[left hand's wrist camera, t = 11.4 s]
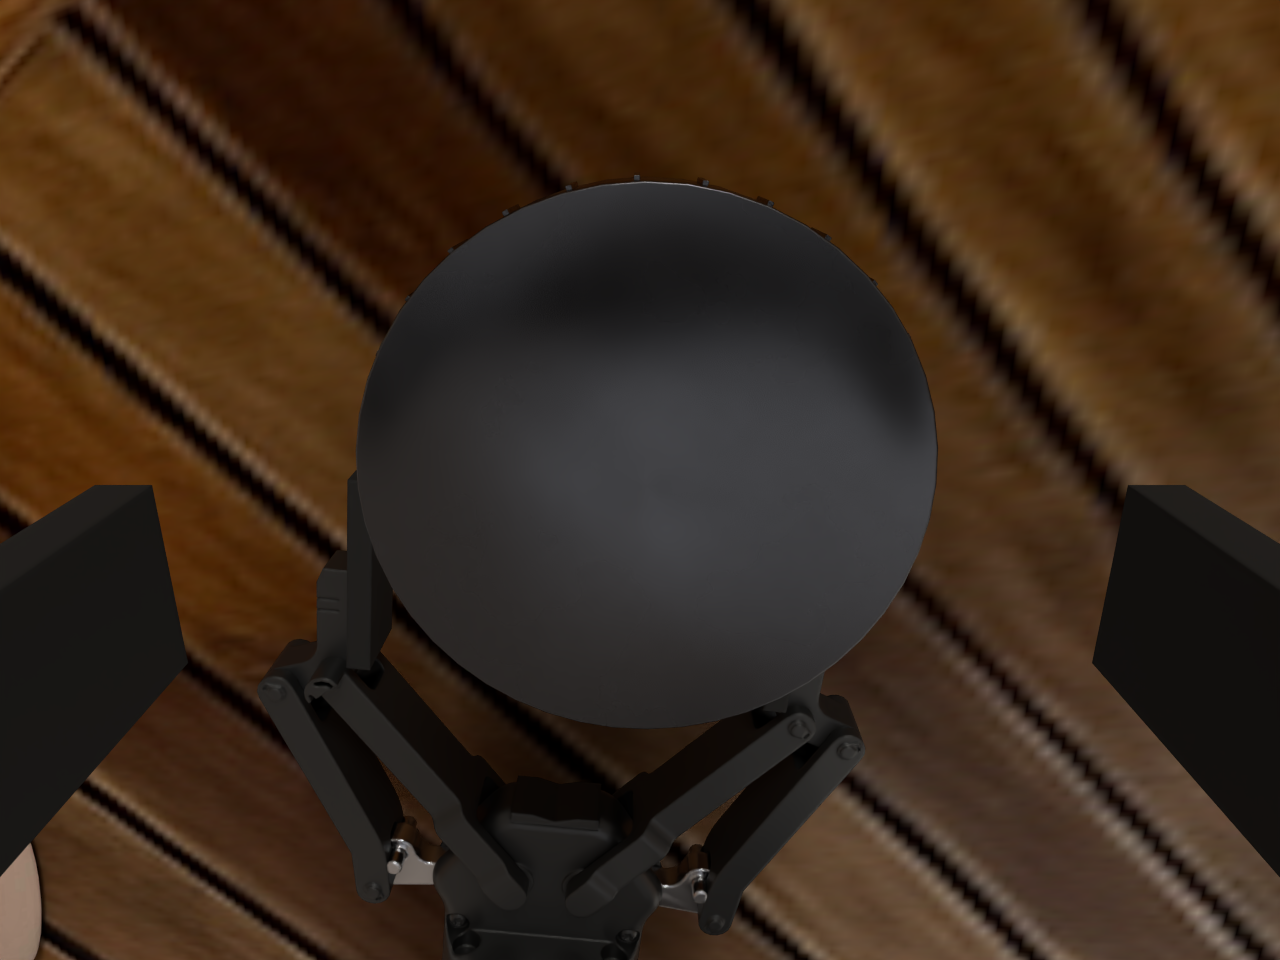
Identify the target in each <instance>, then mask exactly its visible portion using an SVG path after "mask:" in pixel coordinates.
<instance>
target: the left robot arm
mask: <svg viewBox="0 0 1280 960" xmlns="http://www.w3.org/2000/svg"><path fill="white" fill-rule="evenodd" d="M187 663H188V661H187V656H186V651H185V646H184V642H183V637H182V632H181V627H180V622H179V617H178V612H177V607H176V602H175V597H174V592H173V587H172V582H171V577H170V572H169V567H168V562H167V557H166V552H165V547H164V543H163V538H162V533H161V528H160V523H159V518H158V513H157V508H156V503H155V498H154V493H153V488H152V485H94V486H93V487H91V488H90V489H88V490H86V491H85V492H83V493H82V494H80V495H78V496H77V497H75V498H74V499H72V500H70V501H69V502H67V503H65V504H64V505H62V506H61V507H59V508H57V509H56V510H54V511H53V512H51V513H49V514H48V515H46V516H45V517H43V518H41V519H40V520H38V521H36V522H35V523H33V524H32V525H30V526H28V527H27V528H25V529H24V530H22V531H20V532H19V533H17V534H16V535H14V536H12V537H11V538H9V539H8V540H6V541H4V542H3V543H1V544H0V877H1V876H2V875H3V873H4V872H5V871H6V870H7V869H8V868H9V867H10V865H11V864H12V863H13V862H14V861H15V860H16V859H17V857H18V856H19V855H20V854H21V853H22V852H23V851H24V849H25V848H26V847H27V846H28V845H29V844H30V843H31V841H32V840H33V839H34V838H35V837H36V836H37V835H38V833H39V832H40V831H41V830H42V829H43V828H44V827H45V825H46V824H47V823H48V822H49V821H50V820H51V819H52V817H53V816H54V815H55V814H56V813H57V812H58V811H59V809H60V808H61V807H62V806H63V805H64V804H65V803H66V801H67V800H68V799H69V798H70V797H71V796H72V795H73V793H74V792H75V791H76V790H77V789H78V788H79V787H80V785H81V784H82V783H83V782H84V781H85V780H86V779H87V777H88V776H89V775H90V774H91V773H92V772H93V771H94V769H95V768H96V767H97V766H98V765H99V764H100V763H101V761H102V760H103V759H104V758H105V757H106V756H107V755H108V753H109V752H110V751H111V750H112V749H113V748H114V747H115V745H116V744H117V743H118V742H119V741H120V740H121V739H122V737H123V736H124V735H125V734H126V733H127V732H128V731H129V730H130V728H131V727H132V726H133V725H134V724H135V723H136V722H137V720H138V719H139V718H140V717H141V716H142V715H143V714H144V712H145V711H146V710H147V709H148V708H149V707H150V706H151V704H152V703H153V702H154V701H155V700H156V699H157V698H158V696H159V695H160V694H161V693H162V692H163V691H164V690H165V688H166V687H167V686H168V685H169V684H170V683H171V682H172V680H173V679H174V678H175V677H176V676H177V675H178V674H179V672H180V671H181V670H182V669H183V668H184V667H185V666H186V664H187ZM1092 663H1093V664H1094V666H1095V667H1096V668H1097V669H1098V670H1099V671H1100V672H1101V674H1102V675H1103V676H1104V677H1105V678H1106V679H1107V680H1108V682H1109V683H1110V684H1111V685H1112V686H1113V687H1114V688H1115V690H1116V691H1117V692H1118V693H1119V694H1120V695H1121V696H1122V698H1123V699H1124V700H1125V701H1126V702H1127V703H1128V704H1129V706H1130V707H1131V708H1132V709H1133V710H1134V711H1135V712H1136V714H1137V715H1138V716H1139V717H1140V718H1141V719H1142V720H1143V722H1144V723H1145V724H1146V725H1147V726H1148V727H1149V728H1150V730H1151V731H1152V732H1153V733H1154V734H1155V735H1156V736H1157V737H1158V739H1159V740H1160V741H1161V742H1162V743H1163V744H1164V745H1165V747H1166V748H1167V749H1168V750H1169V751H1170V752H1171V753H1172V755H1173V756H1174V757H1175V758H1176V759H1177V760H1178V761H1179V763H1180V764H1181V765H1182V766H1183V767H1184V768H1185V769H1186V771H1187V772H1188V773H1189V774H1190V775H1191V776H1192V777H1193V779H1194V780H1195V781H1196V782H1197V783H1198V784H1199V785H1200V787H1201V788H1202V789H1203V790H1204V791H1205V792H1206V793H1207V795H1208V796H1209V797H1210V798H1211V799H1212V800H1213V801H1214V803H1215V804H1216V805H1217V806H1218V807H1219V808H1220V809H1221V811H1222V812H1223V813H1224V814H1225V815H1226V816H1227V817H1228V819H1229V820H1230V821H1231V822H1232V823H1233V824H1234V825H1235V827H1236V828H1237V829H1238V830H1239V831H1240V832H1241V833H1242V835H1243V836H1244V837H1245V838H1246V839H1247V840H1248V841H1249V843H1250V844H1251V845H1252V846H1253V847H1254V848H1255V849H1256V851H1257V852H1258V853H1259V854H1260V855H1261V856H1262V857H1263V859H1264V860H1265V861H1266V862H1267V863H1268V864H1269V865H1270V867H1271V868H1272V869H1273V870H1274V871H1275V872H1276V873H1277V875H1278V876H1279V877H1280V544H1279V543H1277V542H1276V541H1274V540H1272V539H1271V538H1269V537H1268V536H1266V535H1264V534H1263V533H1261V532H1260V531H1258V530H1256V529H1255V528H1253V527H1252V526H1250V525H1248V524H1247V523H1245V522H1244V521H1242V520H1240V519H1239V518H1237V517H1235V516H1234V515H1232V514H1231V513H1229V512H1227V511H1226V510H1224V509H1223V508H1221V507H1219V506H1218V505H1216V504H1215V503H1213V502H1211V501H1210V500H1208V499H1206V498H1205V497H1203V496H1202V495H1200V494H1198V493H1197V492H1195V491H1194V490H1192V489H1190V488H1189V487H1187V486H1186V485H1128V488H1127V493H1126V498H1125V503H1124V508H1123V513H1122V518H1121V523H1120V528H1119V533H1118V538H1117V543H1116V547H1115V552H1114V557H1113V562H1112V567H1111V572H1110V577H1109V582H1108V587H1107V592H1106V597H1105V602H1104V607H1103V612H1102V617H1101V622H1100V627H1099V632H1098V637H1097V642H1096V646H1095V651H1094V656H1093V661H1092Z"/></svg>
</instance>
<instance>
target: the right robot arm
mask: <svg viewBox="0 0 1280 960" xmlns="http://www.w3.org/2000/svg"><path fill="white" fill-rule="evenodd" d="M392 593H393V588H392V587H391V585H390V583H389V581H388V579H387V577H386V575H385V573H384V571H383V569H382V567H381V565H380V563H379V561H378V559H377V557H376V554H375V551H374V548H373V545H372V542H371V539H370V536H369V533H368V531H367V528H366V525H365V522H364V517H363V511H362V506H361V501H360V496H359V491H358V482H357V470H356V471H355V472H354V473H353V475H352V476H351V477H350V478H349V479H348V492H347V551H341V550H337V551H336V552H335V553H334V555H333V556H332V557H331V559H330V560H329V561H328V563H327V564H326V565H325V567H324V568H323V570H322V572H321V574H320V576H319V578H318V580H317V641H316V642H311V643H310V642H309V641H307V640H303V639H297V640H293V641H291V642H289V643H288V644H287V646H286V647H285V649H284V650H283V651H282V652H281V654H280V655H279V657H278V658H277V659H276V661H275V662H274V664H273V665H272V667H271V668H270V669H269V671H268V672H267V674H266V675H265V677H264V678H263V679H262V681H261V682H260V684H259V685H258V691H257V692H258V695H259V698H260V700H261V701H262V703H263V705H264V706H265V708H266V710H267V711H268V713H269V715H270V717H271V718H272V720H273V722H274V723H275V725H276V727H277V728H278V730H279V732H280V733H281V735H282V737H283V738H284V740H285V742H286V744H287V745H288V747H289V749H290V750H291V752H292V754H293V755H294V757H295V759H296V760H297V762H298V764H299V765H300V767H301V769H302V771H303V772H304V774H305V776H306V777H307V779H308V781H309V782H310V784H311V786H312V787H313V789H314V791H315V792H316V794H317V796H318V798H319V799H320V801H321V803H322V804H323V806H324V808H325V809H326V811H327V813H328V814H329V816H330V818H331V819H332V821H333V823H334V825H335V826H336V828H337V830H338V831H339V833H340V835H341V836H342V838H343V840H344V841H345V843H346V845H347V846H348V848H349V850H350V852H351V853H352V859H353V867H354V874H355V882H356V889H357V893H358V895H359V896H360V897H361V898H362V899H363V900H365V901H367V902H370V903H380V902H383V901H385V900H386V899H387V898H388V897H389V895H390V892H391V889H392V886H393V884H434V886H435V889H436V891H437V892H438V894H439V895H440V897H441V899H442V901H443V903H444V907H445V921H444V939H443V957H442V960H638V955H639V949H640V942H641V936H642V930H643V926H644V924H645V922H646V920H647V919H648V917H649V916H650V915H651V914H652V913H653V912H654V911H655V910H656V909H657V907H658V906H661V907H666V908H672V909H677V910H683V911H688V912H694V913H698V922H699V926H700V929H701V930H702V931H703V932H705V933H707V934H709V935H720V934H723V933H725V932H726V931H728V929H729V928H730V926H731V924H732V921H733V918H734V915H735V913H736V910H737V907H738V904H739V901H740V899H741V896H742V893H743V891H744V890H745V888H746V887H747V886H748V885H749V884H750V883H751V882H752V881H753V880H754V878H755V877H756V876H757V875H758V874H759V873H760V872H761V871H762V870H763V868H764V867H765V866H766V865H767V864H768V863H769V862H770V861H771V859H772V858H773V857H774V856H775V855H776V854H777V853H778V852H779V851H780V849H781V848H782V847H783V846H784V845H785V844H786V843H787V842H788V840H789V839H790V838H791V837H792V836H793V835H794V834H795V833H796V832H797V830H798V829H799V828H800V827H801V826H802V825H803V824H804V823H805V821H806V820H807V819H808V818H809V817H810V816H811V815H812V814H813V813H814V811H815V810H816V809H817V808H818V807H819V806H820V805H821V804H822V802H823V801H824V800H825V799H826V798H827V797H828V796H829V795H830V794H831V792H832V791H833V790H834V789H835V788H836V787H837V786H838V785H839V783H840V782H841V781H842V780H843V779H844V778H845V777H846V776H847V775H848V773H849V772H850V771H851V770H852V769H853V768H854V767H855V766H856V765H857V763H858V762H859V761H860V760H861V759H862V757H863V756H864V754H865V746H864V743H863V741H862V738H861V735H860V732H859V730H858V727H857V724H856V722H855V719H854V716H853V714H852V711H851V708H850V706H849V703H848V701H847V700H846V699H845V698H844V697H842V696H839V695H830V696H825V695H823V694H821V693H820V690H821V685H822V681H823V676H824V672H825V671H824V672H823V673H821V674H820V675H818V676H817V677H816V678H814V679H813V680H811V681H810V682H808V683H807V684H805V685H803V686H801V687H799V688H798V689H796V690H794V691H792V692H790V693H789V694H787V695H785V696H783V697H782V698H780V699H777V700H775V701H773V702H770V703H768V704H765V705H763V706H761V707H758V708H756V709H753V710H751V711H749V712H745V713H742V714H738V715H735V716H732V717H728V718H725V719H722V720H720V721H719V722H718V723H717V724H715V725H714V726H713V727H711V728H710V729H709V730H707V731H706V732H705V733H703V734H702V735H701V736H700V737H698V738H697V739H696V740H694V741H693V742H692V743H690V744H689V745H688V746H686V747H685V748H684V749H682V750H681V751H680V752H679V753H677V754H676V755H675V756H673V757H672V758H671V759H669V760H668V761H667V762H665V763H664V764H663V765H662V766H660V767H659V768H658V769H656V770H655V771H654V772H652V773H650V774H648V773H646V772H642V773H640V774H638V775H637V776H636V777H634V778H633V779H632V780H631V781H629V782H628V783H627V784H625V785H624V786H623V787H621V788H620V789H619V790H617V791H616V792H615V793H614V794H612V795H611V794H609V793H607V792H605V791H602V790H601V784H599V783H589V782H574V783H566V784H557V783H554V782H551V781H548V780H545V779H542V778H538V777H528V776H518V779H517V782H513V783H509V784H505V783H504V781H503V780H502V779H501V778H500V777H499V776H498V775H497V773H496V772H495V771H494V770H493V769H492V768H491V767H490V765H489V764H488V763H487V762H486V761H485V760H484V759H483V758H482V757H481V756H479V755H477V756H472V755H470V754H469V752H468V751H467V750H466V749H465V748H464V747H463V746H462V744H461V743H460V742H459V741H458V740H457V739H456V738H455V736H454V735H453V734H452V733H451V732H450V731H449V730H448V728H447V727H446V726H445V725H444V724H443V723H442V722H441V720H440V719H439V718H438V717H437V716H436V715H435V714H434V712H433V711H432V710H431V709H430V708H429V707H428V706H427V704H426V703H425V702H424V701H423V700H422V699H421V698H420V696H419V695H418V694H417V693H416V692H415V691H414V689H413V688H412V687H411V686H410V685H409V684H408V683H407V681H406V680H405V679H404V678H403V677H402V676H401V675H400V673H399V672H398V671H397V670H396V669H395V668H394V667H393V665H392V664H391V663H390V662H389V661H388V660H387V659H386V657H385V656H384V655H383V654H382V653H381V652H380V650H381V648H382V646H383V644H384V642H385V640H386V638H387V636H388V634H389V632H390V630H391V629H392ZM375 754H376V755H375ZM377 757H378V758H379V759H380V760H381V761H382V762H383V763H384V764H385V765H386V766H387V768H388V769H389V770H390V771H391V772H392V773H393V774H394V775H395V776H396V777H397V778H398V780H399V781H400V782H401V783H402V784H403V785H404V786H405V787H406V788H407V789H408V790H409V791H410V793H411V794H412V795H413V796H414V797H415V798H416V799H417V800H418V801H419V802H420V803H421V805H422V806H423V807H424V808H425V809H426V810H427V811H428V812H429V813H430V815H431V816H432V818H433V822H434V828H435V831H436V833H437V835H438V836H439V838H440V839H441V840H442V843H441V845H440V846H437V845H432V844H429V843H427V842H426V841H425V840H424V839H423V838H422V837H421V834H420V832H419V830H418V829H417V828H416V825H417V821H416V819H415V818H413V817H412V816H405V817H403V811H402V806H401V803H400V800H399V797H398V795H397V793H396V791H395V789H394V787H393V785H392V783H391V782H390V780H389V778H388V776H387V774H386V773H385V771H384V769H383V767H382V765H381V764H380V762H379V760H378V758H377ZM746 786H747V787H746ZM745 787H746V788H745ZM744 788H745V789H744ZM742 789H744V791H743V792H742V793H741V794H740V795H739V796H738V798H737V799H736V800H735V801H734V802H733V804H732V805H731V806H730V807H729V808H728V809H727V811H726V812H725V813H724V814H723V815H722V816H721V818H720V819H719V820H718V821H717V823H716V824H715V825H714V827H713V828H712V829H711V831H710V833H709V835H708V836H707V838H706V841H705V843H704V846H702V845H699V844H695V845H692V846H691V847H690V849H689V854H688V855H687V856H685V858H684V859H683V861H682V862H681V863H680V864H679V865H677V866H675V867H672V868H662V866H661V862H660V860H662V859H663V858H664V857H665V856H666V854H667V853H668V852H669V850H670V847H671V845H672V843H673V841H674V840H675V839H676V838H677V837H678V836H680V835H681V834H682V833H684V832H685V831H686V830H688V829H689V828H691V827H692V826H693V825H695V824H696V823H697V822H699V821H700V820H701V819H703V818H704V817H706V816H707V815H708V814H710V813H711V812H712V811H714V810H715V809H716V808H718V807H719V806H721V805H722V804H723V803H725V802H726V801H727V800H729V799H730V798H731V797H733V796H734V795H736V794H737V793H738V792H740V791H741V790H742Z"/></svg>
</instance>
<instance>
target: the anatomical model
mask: <svg viewBox="0 0 1280 960" xmlns="http://www.w3.org/2000/svg"><path fill="white" fill-rule="evenodd" d="M40 936H41V896H40V886H39V877H38V871H37V865H36V860H35V857H34V853H33V849H32V846H31V843H30V844H29V845H28V846H27V847H26V848H25V849H24V851H23V852H22V853H21V854H20V855H19V856H18V857H17V859H16V860H15V861H14V862H13V863H12V864H11V865H10V867H9V868H8V869H7V870H6V871H5V872H4V873H3V875H2V876H1V877H0V960H34V958H35V956H36V954H37V951H38V948H39V942H40Z"/></svg>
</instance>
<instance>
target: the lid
mask: <svg viewBox="0 0 1280 960" xmlns="http://www.w3.org/2000/svg"><path fill="white" fill-rule="evenodd" d="M565 187H566V189H565V190H563V191H560V192H557V193H555V194H552V195H549V196H546V197H544V198H541V199H538V200H536V201H534V202H532V203H530V204H528V205H526V206H524V207H522V208H520V206H519V205H518V204H517V205H515V206H513V207H511V208H509V209H507V210H505V211H503V212H502V213H503V215H504V217H503V218H501V219H499V220H498V221H496V222H494V223H492V224H490V225H488V226H486V227H485V228H483V229H482V230H481V231H479V232H478V233H477V234H475V235H474V236H473V237H471V238H470V239H466V240H465V241H463V242H461V243H459V244H457V245H455V246H453V247H451V248H450V249H449V250H448V252H449V253H450V254H449V255H448V256H447V257H446V258H445V259H444V260H443V261H442V262H441V263H440V264H439V265H438V266H437V267H436V268H435V269H434V270H433V271H432V272H431V273H430V274H429V275H428V276H427V277H425V278H424V280H423V281H422V282H421V284H420V285H419V286H418V287H417V289H416V290H415V291H414V292H413V293H411V294H410V295H408V296H407V297H406V299H405V301H407V302H406V303H405V304H404V306H403V307H402V308H401V309H400V311H399V313H398V315H397V316H396V318H395V320H394V322H393V323H392V325H391V327H390V329H389V330H388V332H387V334H386V336H385V338H384V339H383V341H382V343H381V345H380V348H379V350H378V351H377V353H376V358H375V361H374V363H373V366H372V368H371V371H370V373H369V376H368V379H367V383H366V387H365V391H364V396H363V400H362V404H361V408H360V413H359V421H358V432H357V444H356V463H357V482H358V491H359V496H360V501H361V506H362V511H363V517H364V522H365V525H366V528H367V531H368V533H369V536H370V539H371V542H372V545H373V548H374V551H375V554H376V557H377V559H378V561H379V563H380V565H381V567H382V569H383V571H384V573H385V575H386V577H387V579H388V581H389V583H390V585H391V587H392V588H393V590H394V591H395V593H396V594H397V596H398V597H399V599H400V600H401V602H402V603H403V605H404V606H405V608H406V609H407V611H408V612H409V614H410V615H411V616H412V618H413V619H414V620H415V621H416V622H417V623H418V625H419V626H420V627H421V628H422V629H423V630H424V631H425V633H426V634H427V635H428V636H429V637H430V638H431V640H432V641H433V642H434V643H435V644H437V645H438V646H439V647H440V648H441V649H442V650H443V651H444V652H445V653H447V654H448V655H449V656H450V657H451V658H452V659H453V660H454V661H455V662H456V663H458V664H459V665H460V666H462V667H463V668H465V669H466V670H467V671H469V672H470V673H472V674H473V675H474V676H476V677H477V678H479V679H480V680H481V681H483V682H484V683H486V684H487V685H489V686H491V687H493V688H495V689H497V690H498V691H500V692H502V693H504V694H506V695H508V696H509V697H511V698H513V699H515V700H517V701H520V702H522V703H525V704H527V705H530V706H532V707H534V708H537V709H539V710H542V711H544V712H547V713H550V714H554V715H557V716H561V717H564V718H568V719H572V720H575V721H579V722H584V723H590V724H596V725H603V726H609V727H617V728H637V729H656V728H673V727H684V726H690V725H696V724H702V723H708V722H714V721H718V720H721V719H725V718H728V717H732V716H735V715H738V714H742V713H745V712H749V711H751V710H753V709H756V708H758V707H761V706H763V705H765V704H768V703H770V702H773V701H775V700H777V699H780V698H782V697H783V696H785V695H787V694H789V693H790V692H792V691H794V690H796V689H798V688H799V687H801V686H803V685H805V684H807V683H808V682H810V681H811V680H813V679H814V678H816V677H817V676H818V675H820V674H821V673H823V672H824V671H825V670H827V669H828V668H829V667H831V666H832V665H834V664H835V663H836V662H838V661H839V660H840V659H841V658H842V657H843V656H844V655H845V654H846V653H847V652H848V651H850V650H851V649H852V648H853V647H854V646H855V645H856V644H857V643H858V642H859V641H860V640H862V639H863V637H864V636H865V635H866V634H867V633H868V631H869V630H870V629H871V628H872V627H873V626H874V624H875V623H876V622H877V621H878V620H879V619H880V617H881V616H882V615H883V614H884V613H885V611H886V610H887V608H888V607H889V605H890V604H891V602H892V600H893V599H894V597H895V596H896V594H897V593H898V591H899V590H900V588H901V587H902V585H903V584H904V582H905V580H906V577H907V575H908V573H909V571H910V569H911V567H912V565H913V563H914V561H915V559H916V557H917V555H918V553H919V550H920V547H921V544H922V541H923V538H924V535H925V532H926V529H927V526H928V523H929V520H930V515H931V509H932V504H933V499H934V493H935V488H936V479H937V457H938V443H937V433H936V422H935V412H934V407H933V403H932V399H931V395H930V391H929V387H928V383H927V378H926V375H925V372H924V370H923V367H922V365H921V362H920V360H919V357H918V355H917V352H916V350H915V347H914V345H913V342H912V340H911V337H910V335H909V333H907V331H906V329H905V328H904V326H903V324H902V323H901V321H900V319H899V317H898V316H897V314H896V312H895V310H894V309H893V307H892V306H891V304H890V303H889V302H888V301H887V299H886V298H885V297H884V296H883V294H882V293H881V292H880V290H879V289H878V288H877V287H876V286H877V285H878V284H877V282H876V281H875V280H874V279H872V278H870V277H869V276H868V275H867V274H865V273H864V272H863V271H862V270H861V269H860V268H859V267H858V266H857V265H856V264H855V263H854V262H853V261H852V260H851V259H850V258H849V257H848V256H847V255H846V254H844V253H843V252H842V251H841V250H840V249H839V248H838V247H836V246H835V245H834V244H832V243H831V242H829V241H830V240H831V237H830V236H829V235H827V234H825V233H823V232H821V231H819V230H816V229H814V228H812V227H811V228H810V227H808V226H807V225H805V224H803V223H802V222H800V221H798V220H796V219H794V218H792V217H790V216H788V215H786V214H784V213H782V212H780V211H778V210H777V209H775V208H773V205H774V202H772V201H769V200H767V199H765V198H762V197H760V196H758V197H757V200H756V199H753V198H750V197H747V196H745V195H742V194H739V193H736V192H733V191H731V190H728V189H725V188H722V187H719V186H714V185H709V181H707V180H705V179H703V178H699V177H698V179H697V182H694V181H689V180H684V179H672V178H656V177H640V173H634V178H622V179H609V180H603V181H599V182H594V183H590V184H585V185H580V186H578V183H577V182H573V183H571V184H569V185H567V186H565Z"/></svg>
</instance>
